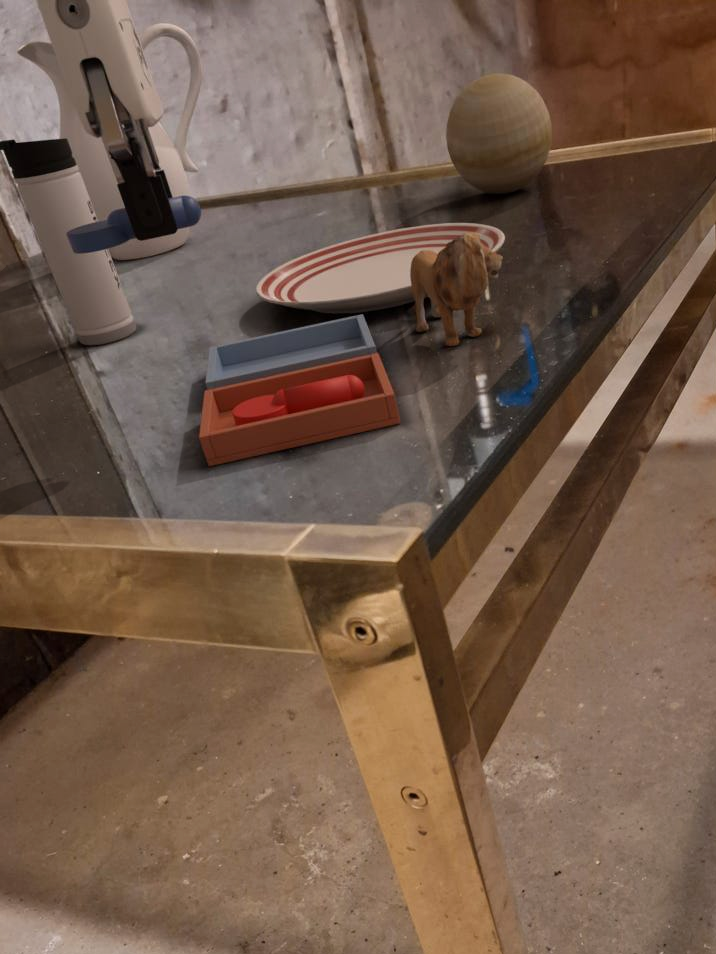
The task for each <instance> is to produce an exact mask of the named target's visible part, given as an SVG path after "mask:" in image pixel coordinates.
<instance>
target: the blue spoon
mask: <svg viewBox="0 0 716 954" xmlns="http://www.w3.org/2000/svg"><path fill="white" fill-rule="evenodd" d="M169 202H170V205H171V208H172V211H173V214H174V217H175V220H176V223H177V227H178V229H182V228H186V227H190V228H191V227H194V226H196V225H198V223H199V222H200V220H201V218H202V209H201V206H200V203H199V202H198V201H197V200H196V199H195V198H194V197H192V196H191V197H190V196H185V195H184V196H178V197H173V198H169ZM66 235H67V237H68V240H69V242H70V245H71V247H72V250H73V252H74V253H77V254H82V253H91V252H96V251H101V250H105V249H109V248H112V247H115V246H118V245H121V244H123V243H125V242H127V241H129V240H131V239H135V238H136V237H135V234H134V231H133V228H132V226H131V223H130V220H129V217H128V214H127V212H126V209H125V208H122V209H117V210H114V211H113V212H111V213H110V214H109V216H108V219H107V220H103V221H98V222H94V223H90V224H86V225H83V226H80V227H77V228H74V229H72V230H70V231H68V232H67V233H66Z"/></svg>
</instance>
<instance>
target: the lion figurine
mask: <svg viewBox="0 0 716 954" xmlns="http://www.w3.org/2000/svg"><path fill="white" fill-rule="evenodd" d="M503 259H504V257H503V256H502V255H501V254H498V253H494V252H492V251H490V250H489V248H488V247H486V246H484V245H483V244H482V243H481V241H480V235H479V234H475V233H468V234H462V235H460V236H459V237H457V238H455V239H454V240H452V241H451V242H449V243H447V245H446V248H444V249H442V250H441V251H440V252H439V253H438V254H437V253H436V252H434V251H430V250H422V251H420V252H419V253H418V254H416V255H415V256H414V258H413V259H412V262H411V269H410V278H411V285H412V289H413V293H414V298H415V301H414V302H415V303H414V304H413V305H412V306H411V307H410V308H409V309H407V311H406V312H407V314H409V315H414V314H416V320H417V321H416V322H417V323H416V328H415V329H416V332H417V333H422V332H425V331H428V330H429V324H428V323H427V321H426V316H425V315H426V314H425V311H426V310H425V307H424V300H425V298H424V295H425V291H426V293H427V295H428V297H427V298H429V299H430V310H431V314H432V316H433V317H434V318H440V319H441V324H442V326H443V331H444V336H445V345H446V347H455V346H458V345H459V344H460V340H459V335H458V332H457V331H456V329H455V325H454V319H453V318H454V317H453V313H454V311H456V312H458V311H463V313H464V325H463V326H464V332H465V334H466V335H467V336H469V337H472V338H475V337H479V336H480V335H481V334H482V328H480V327H476V326H475V312H476V311H475V310H476V306H477V305H478V304H479V302H480V297H481V296H482V294H484V293H485V292H486V290H488V286H489V279H492V280H498V278H499V270H500V269H501V267H502V261H503Z"/></svg>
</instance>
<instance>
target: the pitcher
mask: <svg viewBox="0 0 716 954" xmlns="http://www.w3.org/2000/svg"><path fill="white" fill-rule="evenodd" d="M138 37H139V40H140V43H141V46H142V49H143V51H144V50H145V49H146V48H147V47H148V46H149V44H151V43H152V42H153V41H154V40H157V39H159V38H161V37H162V38H163V37H164V38H169V39H170V38H171V39H173V40H175V41H177V42H178V43H179V44H180V45H181V46H182V47H183V49H184V51H185V53H186V56H187V58H188V63H189V69H190V71H189V85H188V90H187V95H186V97H185V101H184V104H183V105H184V106H183V109H182V112H181V116H180V119H179V121H178V126H177V130H176V133H175V137H174V141H173V142H172V140H171V138H170V137H169V135H168V134H167V132H166V130H165V129H164V128H163V126H162V125H161V123H160V121H159V122H158V123H157V124H156V125H154V126H153V127H148V129H149V132H150V135H151V138H152V141H153V144H154V147H155V150H156V153H157V156H158V159H159V163H160V166H161V170H164V172H165V175H166V178H167V181H168V184H169V187H170V191H171V194H172V197H178V196H184V195H185V196H190V197H192V194H191V188H190V185H189V181H188V180H189V179H188V177H187V174H186V172H187V173H198V172H199V169H198V167H197V166H196V165H195V164H194V163H193V161H192V160H191V159H190V157H189V156H190V155H189V154H188V151H187V137H188V132H189V128H190V124H191V121H192V118H193V115H194V111H195V110H196V109H195V108H196V105H197V102H198V98H199V95H200V91H201V87H202V81H203V61H202V57H201V54H200V50H199V48H198V46H197V44H196V42H195V41H194V40H193V38H192V37H191V36H190V34H189V33H188V32H186V31H185V30H184V29H183V28H181V27H180V26H177V25H175V24H172V23H167V22H161V23H155V24H153V25H150V26H148V27H147V28H146V29H144V30H143V31H142V32H141V33H139V34H138ZM16 54H18V55H19V56H20V57H23V58H24V59H26V60H28V61H29V62H31V63H33V64H34V65H36V66H37V67H38V68H40V69H41V70H42V71H43V72H44V73H45V74H46V75H47V76H48V78H49V79H50V81H52V84H53V86H54V89H55V91H56V94H57V99H58V103H59V105H58V106H59V120H60V121H59V125H60V126H59V128H60V129H59V131H60V132H59V133H60V135H59V137H60V138H59V139H64V138H67V140H68V142H69V145H70V148H71V151H72V157H73V158H74V159H75V161H76V164H77V165H78V168H79V170H78V172H79V173H80V174H81V176H82V179H83V182H84V184H85V187H86V190H87V193H88V195H89V198H90V201H91V204H92V206H93V209H94V212H95V214H96V217H97V220H98V221H103V220H107V219H108V216H109V214H110V213H111V212H113V211H114V210H117V209H122V208H125V206H124V203H123V200H122V198H121V195H120V192H119V189H118V187H117V184H118V182H117V180H116V177H115V174H114V172H113V169H112V166H111V163H110V160H109V158H108V155H107V152H106V149H105V146H104V143H103V141H102V138H101V137H99V138H96V137H94V136H92V135H90V134H88V133H87V132H86V131H85V129H84V127H83V125H82V123H81V121H80V118H79V116H78V113H77V111H76V109H75V106H74V104H73V101H72V98H71V96H70V93H69V91H68V88H67V85H66V83H65V80H64V77H63V74H62V72H61V69H60V66H59V63H58V61H57V58H56V55H55V52H54V49H53V47H52V44H51V41H48V40H47V41H46V40H35V41H30V42H28V43H26V44H23V45H21V46H20V47H18V49H17V50H16ZM122 126H123V127H124V125H122ZM173 143H174V144H173ZM157 171H160V170H157ZM190 228H191V227H186V228H182V229H177V232H176V233H175V234H171V235H167V236H162V237H157V238H153V239H148V240H143V241H140V240H138V239H137V238H135V239H131V240H129V241H127V242H125V243H123V244H121V245H118V246H115V247H112V248H109V249H108V250H109V253H110V255H111V258H112V259H115V260H118V261H129V260H138V259H143V258H148V257H154V256H157V255H160V254H163V253H168V252H170V251H172V250H175V249H178V248H179V247H181V246H183V245H184V244H185V243H186V242H187V240H188V237H189V233H190Z"/></svg>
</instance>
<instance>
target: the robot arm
mask: <svg viewBox="0 0 716 954" xmlns="http://www.w3.org/2000/svg"><path fill="white" fill-rule="evenodd" d="M36 2H37V8H38V10H39V11H40V14H41V18H42V20H43V23H44V26H45V28H46V31H47V35H48V38H49V40H50V41H49V42H51V44H52V47H53V49H54V52H55V55H56V58H57V61H58V63H59V66H60V69H61V72H62V74H63V77H64V80H65V83H66V85H67V88H68V91H69V93H70V96H71V98H72V101H73V104H74V106H75V109H76V111H77V113H78V116H79V118H80V121H81V123H82V125H83V127H84V129H85V131H86V132H87V133H88V134H90V135H92V136H94V137H96V138H99V137H101V138H102V141H103V143H104V146H105V149H106V152H107V155H108V158H109V160H110V163H111V166H112V169H113V172H114V174H115V177H116V180H117V182H118V184H117V187H118V189H119V192H120V195H121V198H122V200H123V203H124V206H125V209H126V212H127V214H128V217H129V220H130V223H131V226H132V228H133V231H134V234H135V237H136V238H137V239H138V240H140V241H143V240H148V239H153V238H157V237H162V236H167V235H171V234H175V233H176V232H177V229H178V227H177V223H176V220H175V217H174V214H173V211H172V208H171V205H170V202H169V198H173V197H172V194H171V191H170V187H169V184H168V181H167V178H166V175H165V172H164V170H161V166H160V163H159V159H158V156H157V153H156V150H155V147H154V144H153V141H152V138H151V135H150V132H149V129H148V127H153V126H154V125H156V124H157V123H158V122H159V123H160V121H161V119H162V117H163V116H164V114H165V113H164V112H165V111H164V106H163V103H162V101H161V97H160V95H159V92H158V90H157V86H156V84H155V81H154V78H153V75H152V73H151V69H150V67H149V64H148V61H147V58H146V55H145V51H144V50H143V49H142V46H141V43H140V40H139V37H138V36H139V33H138V30H137V28H136V25H135V23H134V22H135V21H134V19H133V17H132V13H131V10H130V8H129V6H128V5H129V4H128V3H127V0H36ZM122 125H124V127H123V126H122ZM157 170H160V171H157Z"/></svg>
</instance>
